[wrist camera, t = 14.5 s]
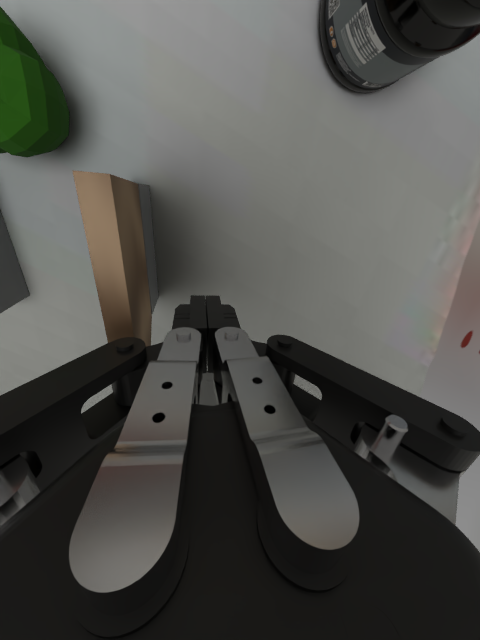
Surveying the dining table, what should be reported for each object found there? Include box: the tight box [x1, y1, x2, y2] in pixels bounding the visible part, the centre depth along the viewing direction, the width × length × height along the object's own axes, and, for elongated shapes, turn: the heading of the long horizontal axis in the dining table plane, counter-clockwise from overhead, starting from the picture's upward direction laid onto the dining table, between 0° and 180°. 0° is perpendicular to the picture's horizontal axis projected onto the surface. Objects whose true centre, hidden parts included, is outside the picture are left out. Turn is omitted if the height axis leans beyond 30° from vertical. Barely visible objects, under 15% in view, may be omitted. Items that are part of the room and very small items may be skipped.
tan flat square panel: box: [73, 171, 152, 347], centre depth 16 cm, size 12×14×1 cm
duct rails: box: [0, 184, 159, 314], centre depth 23 cm, size 12×16×5 cm
